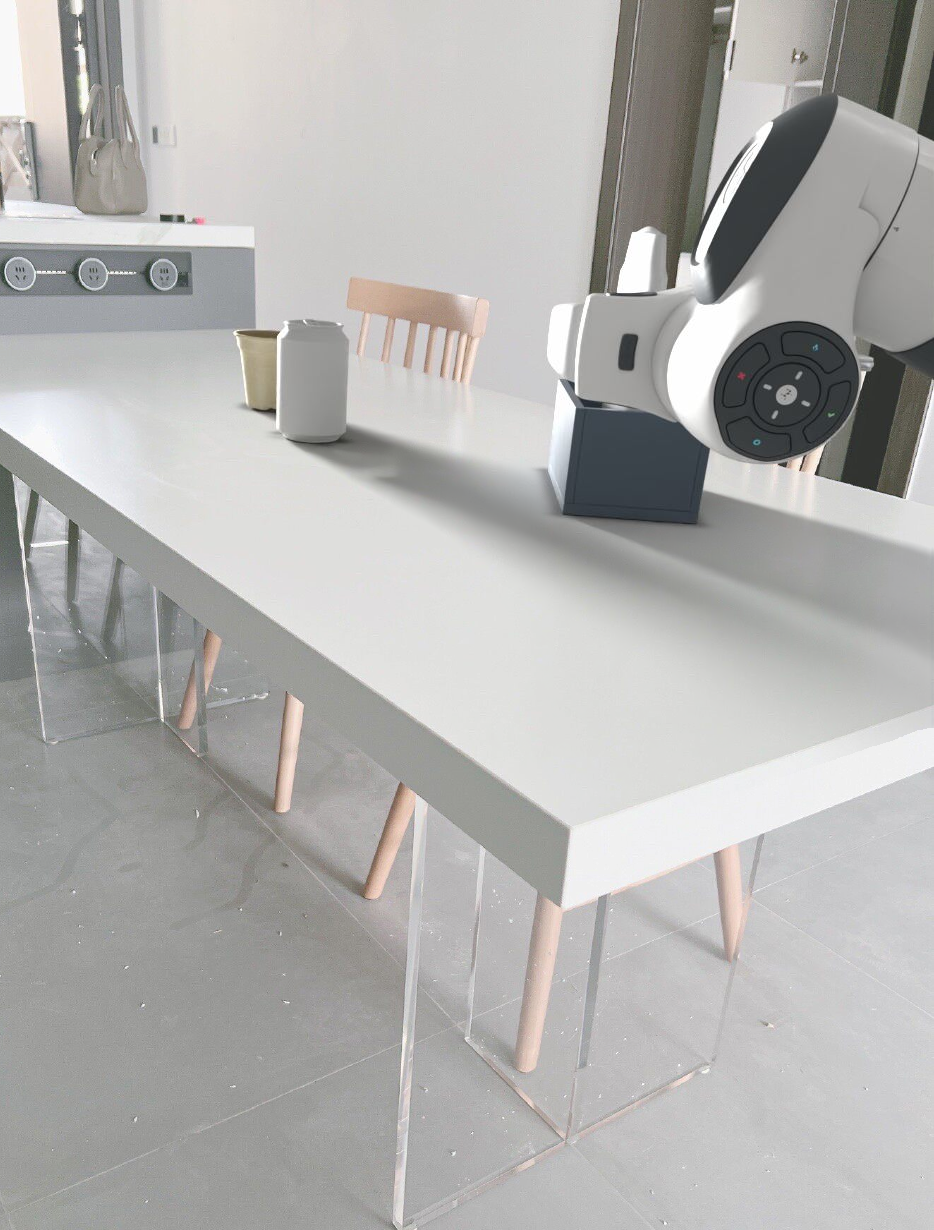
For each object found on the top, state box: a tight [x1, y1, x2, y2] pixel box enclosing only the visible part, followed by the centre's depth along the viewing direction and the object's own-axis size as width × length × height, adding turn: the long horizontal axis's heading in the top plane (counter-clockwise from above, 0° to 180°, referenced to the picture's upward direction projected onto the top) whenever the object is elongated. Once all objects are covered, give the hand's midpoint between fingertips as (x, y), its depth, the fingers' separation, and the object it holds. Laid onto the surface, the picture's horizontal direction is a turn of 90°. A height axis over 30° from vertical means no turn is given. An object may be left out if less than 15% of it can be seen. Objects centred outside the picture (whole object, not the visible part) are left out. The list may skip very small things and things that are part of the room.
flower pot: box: [233, 329, 283, 411], centre depth 129 cm, size 9×9×9 cm
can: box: [276, 318, 350, 444], centre depth 113 cm, size 8×8×12 cm
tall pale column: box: [602, 225, 669, 411], centre depth 95 cm, size 11×4×22 cm, turn 6°
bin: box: [547, 378, 711, 525], centre depth 98 cm, size 12×18×9 cm, turn 177°
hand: (677, 334), depth 79 cm, fingers open, 8 cm apart
